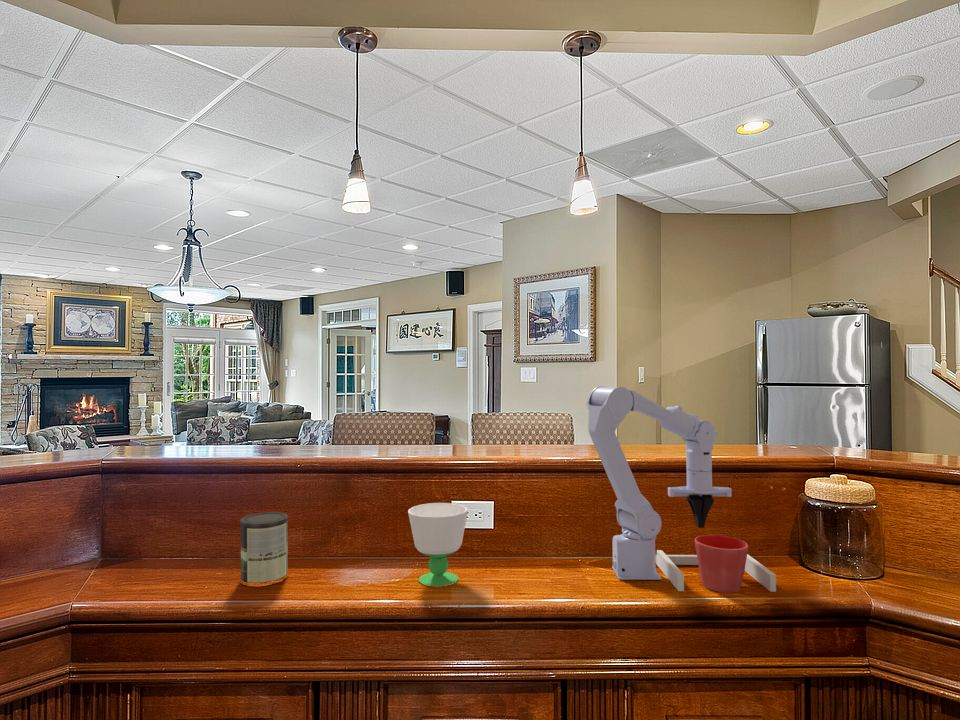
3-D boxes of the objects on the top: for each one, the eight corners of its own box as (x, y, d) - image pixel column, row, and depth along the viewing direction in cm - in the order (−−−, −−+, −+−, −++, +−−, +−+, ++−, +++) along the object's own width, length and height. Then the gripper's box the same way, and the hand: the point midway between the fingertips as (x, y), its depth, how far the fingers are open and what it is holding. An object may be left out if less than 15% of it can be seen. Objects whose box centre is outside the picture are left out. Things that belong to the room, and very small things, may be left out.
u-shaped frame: (678, 591, 120) (678, 574, 120) (655, 563, 138) (655, 548, 138) (776, 591, 119) (775, 574, 120) (740, 563, 137) (740, 548, 137)
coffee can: (229, 583, 127) (229, 520, 127) (265, 568, 136) (265, 510, 137) (263, 590, 123) (263, 525, 123) (297, 575, 132) (297, 514, 132)
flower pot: (738, 577, 128) (737, 534, 128) (756, 597, 117) (755, 549, 117) (689, 576, 129) (688, 533, 129) (703, 595, 118) (702, 548, 118)
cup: (403, 573, 133) (402, 505, 133) (459, 566, 137) (458, 500, 137) (414, 595, 120) (414, 519, 120) (476, 586, 124) (475, 514, 124)
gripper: (722, 466, 140) (723, 522, 140) (663, 467, 140) (664, 522, 140) (734, 471, 133) (736, 530, 133) (672, 472, 133) (673, 530, 133)
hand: (700, 526), depth 136 cm, fingers closed
